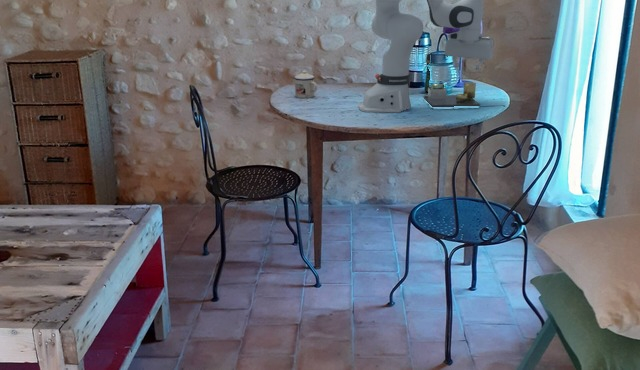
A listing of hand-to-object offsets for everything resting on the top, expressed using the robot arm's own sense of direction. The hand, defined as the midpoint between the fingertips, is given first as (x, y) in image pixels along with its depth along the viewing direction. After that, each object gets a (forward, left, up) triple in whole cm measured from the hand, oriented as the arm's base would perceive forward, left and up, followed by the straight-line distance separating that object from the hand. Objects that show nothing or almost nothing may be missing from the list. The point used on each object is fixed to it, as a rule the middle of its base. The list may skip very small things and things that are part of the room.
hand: (466, 68), depth 280 cm
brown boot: (-1, -3, -12) cm, 13 cm away
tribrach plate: (-7, -3, -15) cm, 17 cm away
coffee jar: (-8, +22, -15) cm, 28 cm away
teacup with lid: (-68, +19, -15) cm, 72 cm away
